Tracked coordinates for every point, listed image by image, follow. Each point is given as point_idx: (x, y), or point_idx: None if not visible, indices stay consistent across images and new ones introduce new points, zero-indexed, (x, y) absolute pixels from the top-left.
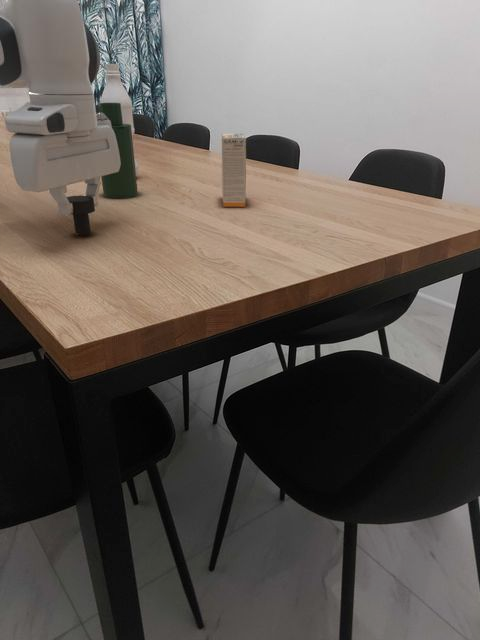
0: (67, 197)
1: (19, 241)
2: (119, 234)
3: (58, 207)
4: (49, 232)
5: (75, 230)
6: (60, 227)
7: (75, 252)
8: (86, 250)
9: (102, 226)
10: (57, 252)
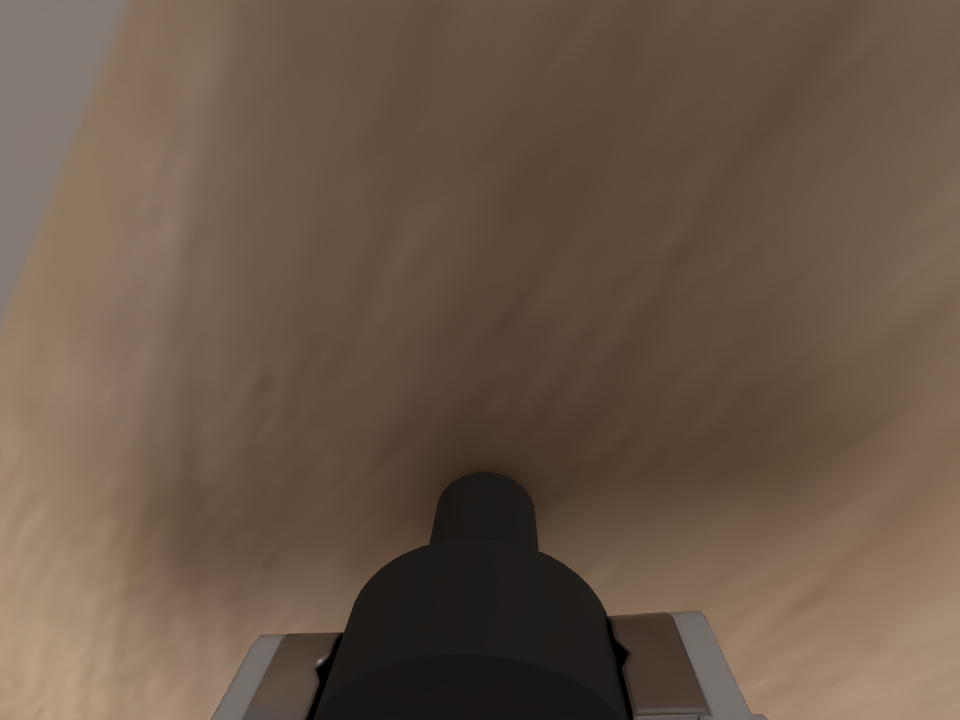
0: (434, 675)
1: (138, 258)
2: None
3: (228, 687)
4: (407, 256)
5: (439, 506)
6: (556, 215)
7: None
8: None
9: (723, 458)
10: (194, 585)
